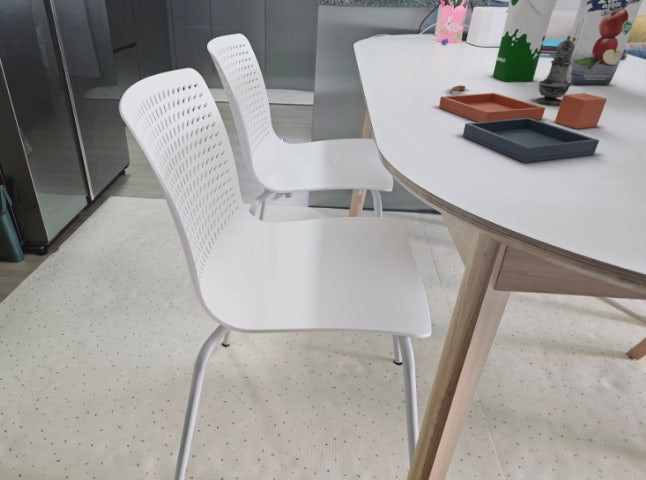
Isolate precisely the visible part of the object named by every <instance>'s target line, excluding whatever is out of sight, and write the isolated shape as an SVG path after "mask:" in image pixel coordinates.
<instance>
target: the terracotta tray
mask: <svg viewBox="0 0 646 480" xmlns="http://www.w3.org/2000/svg"><path fill="white" fill-rule="evenodd" d="M438 109H442V110H445V111H447V112H450V113H451V114H455V115H458V116H461V117H463V118H466V119H468V120H471V121H474V122H486V121H497V120H508V119H519V118H532V119H535V120H538V121H541V120H543V117H544V114H545V110H546V107H544V106H542V105H538V104H534V103H531V102H527V101H524V100H520V99H516V98H513V97H510V96H506V95H503V94H500V93H496V92H488V93H473V94H472V93H471V94H464V95H457V96H450V95H445V96H440V100H439V105H438Z"/></svg>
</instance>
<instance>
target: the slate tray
mask: <svg viewBox="0 0 646 480" xmlns="http://www.w3.org/2000/svg"><path fill="white" fill-rule="evenodd" d="M462 137H463V138H465V139H468V140H471V141H473V142H474V143H478V144H480V145H482V146H484V147H487V148H489V149H491V150H494V151H496V152H498V153H500V154H503V155H506V156H508V157H509V158H513V159H515V160H517V161H519V162H522V163H533V162H540V161H541V162H543V161H549V160H558V159H566V158H575V157H581V156H582V157H584V156H591V155H595V153H596V150H597V147H598V145H599V143H600V139H598V138H594V137H591V136H588V135H584V134H581V133H578V132H575V131H572V130H569V129H565V128H562V127H559V126H557V125H553V124H550V123H547V122H544V121H541V120H535V119H532V118H519V119H508V120H497V121H486V122H476V121H474V122H467V123H465V124H464V128H463V132H462Z"/></svg>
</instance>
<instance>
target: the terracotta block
mask: <svg viewBox="0 0 646 480" xmlns="http://www.w3.org/2000/svg"><path fill="white" fill-rule="evenodd" d="M561 100H562V101H561V104H560V105H559V108H558V111H557V114H556V117H555V120H554V123H557V124H560V125H563V126H566V127H570V128H572V129H576V130H577V129H586V128H595V127H598V124H599V122H600V119H601V117H602V113H603V111H604V108H605V106H606V103H607V100H608V98H606V97H602V96H597V95H594V94H589V93H585V92H584V93H570V94H569V93H568V94H564V95H563V96H562V98H561Z"/></svg>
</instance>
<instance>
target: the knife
mask: <svg viewBox="0 0 646 480" xmlns="http://www.w3.org/2000/svg"><path fill="white" fill-rule="evenodd" d="M465 89H466V86H465V85H461V84H460V85H456V86H453V87H452V88H451V91H450V92H451V95H449V96H457V95H466V92H464V91H462V90H465Z"/></svg>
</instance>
